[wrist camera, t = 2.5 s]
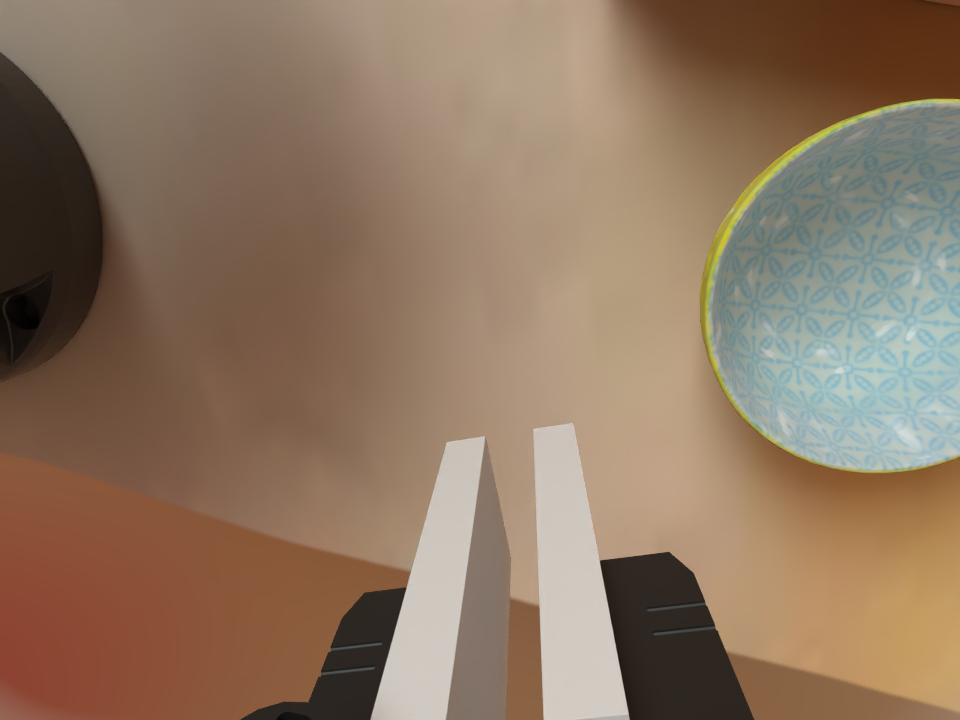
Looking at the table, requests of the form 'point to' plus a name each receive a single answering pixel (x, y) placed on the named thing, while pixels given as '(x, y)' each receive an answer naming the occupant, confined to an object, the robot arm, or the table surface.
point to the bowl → (846, 293)
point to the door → (946, 2)
